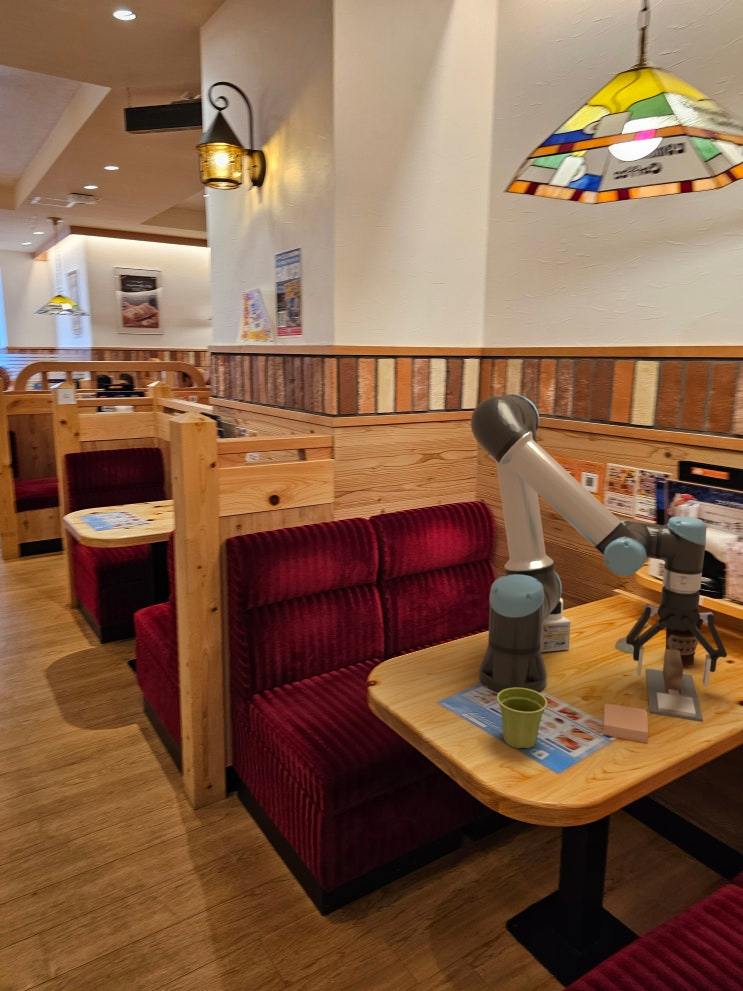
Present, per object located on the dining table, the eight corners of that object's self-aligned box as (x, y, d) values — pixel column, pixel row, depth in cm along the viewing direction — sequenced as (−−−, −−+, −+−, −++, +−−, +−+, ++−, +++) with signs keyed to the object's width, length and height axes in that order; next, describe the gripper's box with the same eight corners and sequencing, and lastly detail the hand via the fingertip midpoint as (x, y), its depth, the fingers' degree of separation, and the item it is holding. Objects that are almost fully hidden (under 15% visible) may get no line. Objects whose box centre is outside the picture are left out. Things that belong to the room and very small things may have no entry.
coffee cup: (703, 672, 157) (709, 620, 155) (665, 669, 159) (670, 617, 156) (693, 657, 166) (698, 607, 163) (657, 654, 167) (662, 604, 165)
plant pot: (553, 739, 129) (556, 698, 127) (529, 760, 122) (532, 717, 120) (510, 722, 135) (512, 682, 133) (485, 741, 128) (487, 700, 126)
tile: (604, 714, 139) (603, 736, 131) (605, 703, 139) (604, 724, 130) (645, 721, 136) (647, 744, 128) (646, 710, 136) (648, 732, 128)
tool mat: (649, 712, 139) (649, 710, 139) (645, 670, 158) (645, 668, 158) (702, 721, 136) (702, 719, 136) (692, 676, 155) (692, 674, 155)
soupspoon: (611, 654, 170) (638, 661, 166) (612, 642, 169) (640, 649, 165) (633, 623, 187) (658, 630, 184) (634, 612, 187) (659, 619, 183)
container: (542, 652, 167) (543, 602, 165) (527, 641, 174) (528, 593, 172) (569, 649, 169) (571, 600, 167) (553, 638, 176) (555, 591, 174)
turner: (658, 711, 139) (660, 684, 138) (653, 671, 157) (655, 647, 156) (695, 717, 136) (698, 690, 135) (686, 676, 154) (688, 651, 153)
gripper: (619, 586, 145) (612, 677, 150) (749, 601, 137) (737, 696, 141) (619, 576, 152) (612, 663, 157) (742, 589, 144) (731, 680, 148)
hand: (671, 679), depth 149 cm, fingers open, 13 cm apart
